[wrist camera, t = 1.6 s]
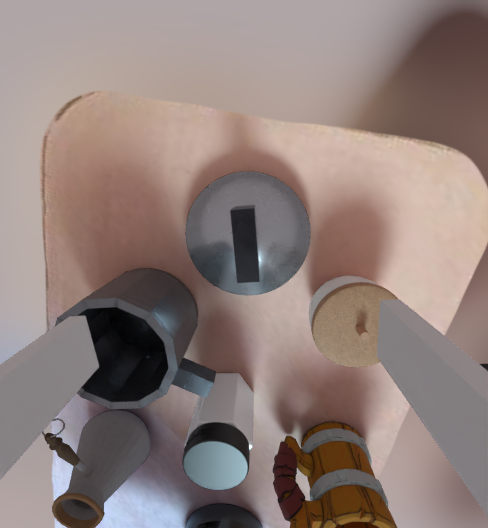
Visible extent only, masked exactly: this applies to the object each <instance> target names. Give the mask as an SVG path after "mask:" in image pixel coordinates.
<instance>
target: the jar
mask: <svg viewBox="0 0 488 528" xmlns="http://www.w3.org/2000/svg"><path fill="white" fill-rule="evenodd" d="M253 418H254V393H253V391H252V390H251V389H250V387H249V386H248V385H247V383H246V382H245V381H244V379H243V378H242V377H241V375H240V374H239V373H216V376H215V381H214V384H213V386H212V388H211V390H210V392H209V394H208V395H207V397H206V398H204V397H202V396H200V395H198V399H197V402H196V406H195V410H194V413H193V417H192V420H191V424H190V427H189V431H188V434H187V438H186V441H185V449H184V455H183V461H182V463H183V468H184V471H185V473H186V475H187V476H188V477H189V478H190V479H191V480H192V481H193V482H194V483H196V484H197V485H199V486H201V487H204V488H207V489H211V490H226V489H230V488H233V487H235V486H237V485H239V484H240V483H241V482H242V481H243V480H244V479H245V478H246V476H247V474H248V471H249V452H250V450H251V448H252V447H253Z"/></svg>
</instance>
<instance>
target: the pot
mask: <svg viewBox="0 0 488 528" xmlns="http://www.w3.org/2000/svg"><path fill="white" fill-rule="evenodd" d="M70 316H86V320H87V323H88V327H89V331H90V334H91V338H92V342H93V345H94V349H95V353H96V356H97V360H98V364H99V368H98V369H97V370H96V371H95V372H94V373H93V375H92V376H91V377H90V378H89V379H88V380H87V381H86V383H85V384H84V385H83V386H82V387H81V388H80V389H79V391H78V392H77V393H78V394H79V395H80V396H81V397H82V398H85V399H87V400H90V401H92V402H95V403H97V404H100V405H102V406H104V407H107V408H109V409H134V408H143V407H145V406H147V405H148V404H150V403H152V402H153V401H155V400H157V399H159V398H160V397H162V396H164V395H166V394H167V392H168V389H169V387H170V385H171V384H173V385H176V386H178V387H180V388H183V389H185V390H188V391H190V392H192V393H195V394H197V395H200V396H202V397H204V398H206V397H207V395H208V394H209V392H210V390H211V388H212V386H213V384H214V381H215V376H216V371H213V370H211V369H209V368H206V367H204V366H202V365H199V364H197V363H195V362H192V361H190V360H188V359H185V358H183V357H184V355H185V352H186V350H187V348H188V345H189V343H190V341H191V339H192V336H193V334H194V332H195V329H196V327H197V317H198V314H197V307H196V303H195V300H194V298H193V296H192V294H191V293H190V291H189V290H188V288H187V287H186V286H185V285H184V284H183V283H182V282H181V281H180V280H178V279H177V278H176V277H174V276H172V275H170V274H169V273H166V272H164V271H161V270H157V269H150V268H142V269H136V270H132V271H127V272H125V273H123V274H122V275H120V276H119V277H117V278H116V279H114V280H112V281H111V282H109V283H108V284H106V285H105V286H103V287H102V288H100V289H98V290H97V291H95V292H94V293H92V294H91V295H89V296H87V297H86V298H84V299H83V300H81V301H80V302H79V303H77V304H76V305H75V306H73V307H72V308H70V309H69V310H68V311H66V312H65V313H64V314H62V315H61V316H59V317H58V318H57V321H56V324H55V326H57V325H58V324H60V323H61V322H62V321H64V320H65V319H67V318H68V317H70Z"/></svg>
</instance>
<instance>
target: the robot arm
mask: <svg viewBox="0 0 488 528" xmlns="http://www.w3.org/2000/svg"><path fill="white" fill-rule="evenodd" d="M377 357H378V359H379V360H380V362H381V363H382V365H383V366H384V367H385V369H386V370H387V372H388V373H389V375H390V376H391V378H392V379H393V380H394V382H395V383H396V385H397V386H398V388H399V389H400V391H401V392H402V393H403V395H404V396H405V398H406V399H407V401H408V402H409V404H410V405H411V406H412V408H413V409H414V411H415V412H416V414H417V415H418V417H419V418H420V420H421V421H422V422H423V424H424V425H425V427H426V428H427V430H428V431H429V432H430V434H431V435H432V437H433V438H434V440H435V441H436V443H437V444H438V446H439V447H440V448H441V450H442V451H443V453H444V454H445V456H446V457H447V458H448V460H449V461H450V463H451V464H452V466H453V467H454V469H455V470H456V471H457V473H458V474H459V476H460V477H461V479H462V480H463V481H464V483H465V485H466V486H467V487H468V489H469V490H470V492H471V493H472V494H473V496H474V498H475V499H476V500H477V502H478V503H479V505H480V506H481V508H482V509H483V511H484V512H485V513H486V515H487V516H488V364H478V363H477V362H476V361H474V360H473V359H472V358H471V357H470V356H469V355H467V354H466V353H465V352H464V351H462V350H461V349H460V348H459V347H457V346H456V345H455V344H454V343H453V342H451V341H450V340H449V339H448V338H446V337H445V336H444V335H443V334H441V333H440V332H439V331H438V330H437V329H435V328H434V327H433V326H432V325H430V324H429V323H428V322H427V321H425V320H424V319H423V318H422V317H421V316H419V315H418V314H417V313H416V312H414V311H413V310H412V309H411V308H409V307H408V306H407V305H406V304H404V303H403V302H402V301H401V300H400V299H392V300H380V313H379V328H378V344H377ZM98 368H99V364H98V360H97V356H96V353H95V349H94V345H93V342H92V338H91V334H90V331H89V327H88V323H87V320H86V316H70V317H68V318H67V319H65V320H64V321H62V322H61V323H60V324H58V325H57V326H55V327H54V328H52V329H51V330H49V331H48V332H47V333H45V334H44V335H42V336H41V337H39V338H38V339H37V340H35V341H34V342H32V343H31V344H29V345H28V346H27V347H25V348H24V349H22V350H21V351H19V352H18V353H17V354H15V355H14V356H12V357H11V358H9V359H8V360H6V361H5V362H4V363H2V364H1V365H0V480H1V479H2V477H3V476H4V475H5V474H6V473H7V472H8V471H9V469H10V468H11V467H12V466H13V465H14V463H16V461H17V460H18V459H19V458H20V457H21V456H22V455H23V453H24V452H25V451H26V450H27V449H28V448H29V447H30V445H31V444H32V443H33V442H34V441H35V440H36V439H37V437H38V436H39V435H40V434H41V433H42V432H43V430H44V429H45V428H46V427H47V426H48V425H49V424H50V423H51V421H52V420H53V419H54V418H55V417H56V416H57V415H58V413H59V412H60V411H61V410H62V409H63V408H64V407H65V405H66V404H67V403H68V402H69V401H70V400H71V399H72V397H73V396H74V395H75V394H76V393H77V392H78V391H79V389H80V388H81V387H82V386H83V385H84V384H85V383H86V381H87V380H88V379H89V378H90V377H91V376H92V375H93V373H94V372H95V371H96V370H97V369H98ZM186 528H262V527H261V524H260V523H259V521H258V520H257V519H256V518H255V517H254V516H253V515H252V514H251V513H249V512H248V511H246V510H244V509H242V508H239V507H236V506H232V505H225V504H216V505H209V506H205V507H203V508H200V509H198V510H197V511H195V512H194V513H193V514H192V515H191V516H190V517H189V519H188V521H187V524H186Z"/></svg>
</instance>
